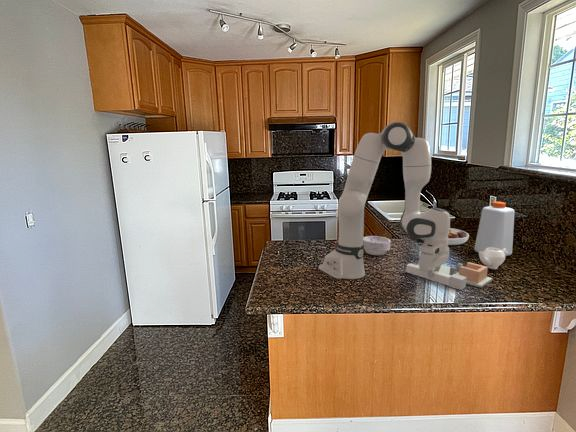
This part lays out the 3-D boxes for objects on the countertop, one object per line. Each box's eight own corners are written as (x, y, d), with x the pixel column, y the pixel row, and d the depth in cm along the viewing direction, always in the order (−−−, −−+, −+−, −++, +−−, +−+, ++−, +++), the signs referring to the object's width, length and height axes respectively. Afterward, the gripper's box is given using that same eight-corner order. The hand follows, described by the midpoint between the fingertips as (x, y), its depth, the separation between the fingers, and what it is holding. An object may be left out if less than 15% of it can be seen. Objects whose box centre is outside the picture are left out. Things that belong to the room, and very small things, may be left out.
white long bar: (405, 272, 157) (406, 263, 156) (410, 270, 160) (411, 261, 159) (461, 290, 139) (462, 280, 138) (465, 287, 142) (466, 277, 141)
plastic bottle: (488, 247, 196) (494, 199, 190) (515, 255, 182) (522, 203, 176) (470, 251, 189) (476, 201, 183) (497, 259, 176) (504, 206, 170)
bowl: (406, 239, 213) (407, 227, 211) (428, 231, 233) (429, 219, 231) (455, 250, 191) (457, 236, 190) (475, 240, 211) (477, 227, 209)
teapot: (515, 267, 164) (518, 249, 162) (486, 273, 156) (488, 254, 154) (497, 261, 173) (499, 243, 171) (468, 267, 165) (470, 248, 163)
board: (414, 267, 164) (415, 256, 163) (426, 262, 172) (427, 250, 170) (481, 287, 142) (482, 274, 140) (492, 280, 149) (493, 267, 148)
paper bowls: (379, 247, 196) (380, 234, 194) (395, 255, 182) (396, 241, 180) (356, 250, 191) (356, 236, 190) (370, 258, 177) (371, 244, 175)
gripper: (440, 239, 155) (437, 268, 158) (417, 248, 142) (414, 279, 145) (454, 242, 151) (451, 271, 154) (431, 251, 138) (428, 283, 141)
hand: (433, 275), depth 149 cm, fingers closed on white long bar, 3 cm apart
